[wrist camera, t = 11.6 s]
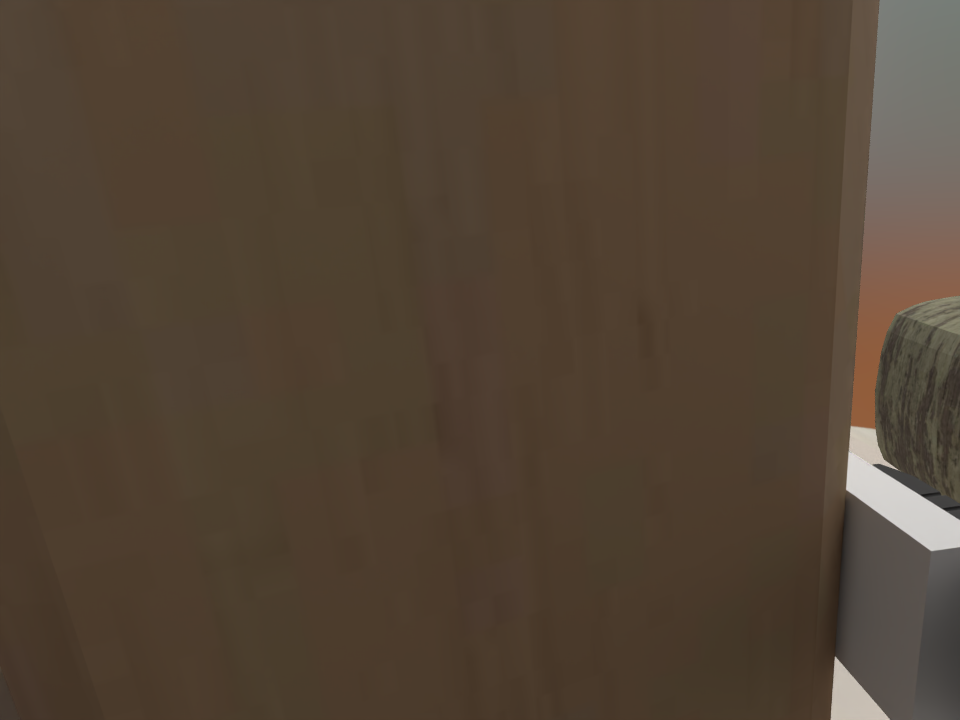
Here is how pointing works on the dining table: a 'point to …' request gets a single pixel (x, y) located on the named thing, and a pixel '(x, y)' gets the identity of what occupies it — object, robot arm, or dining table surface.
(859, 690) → the dining table surface
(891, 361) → the tabletop clock
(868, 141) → the wooden block
